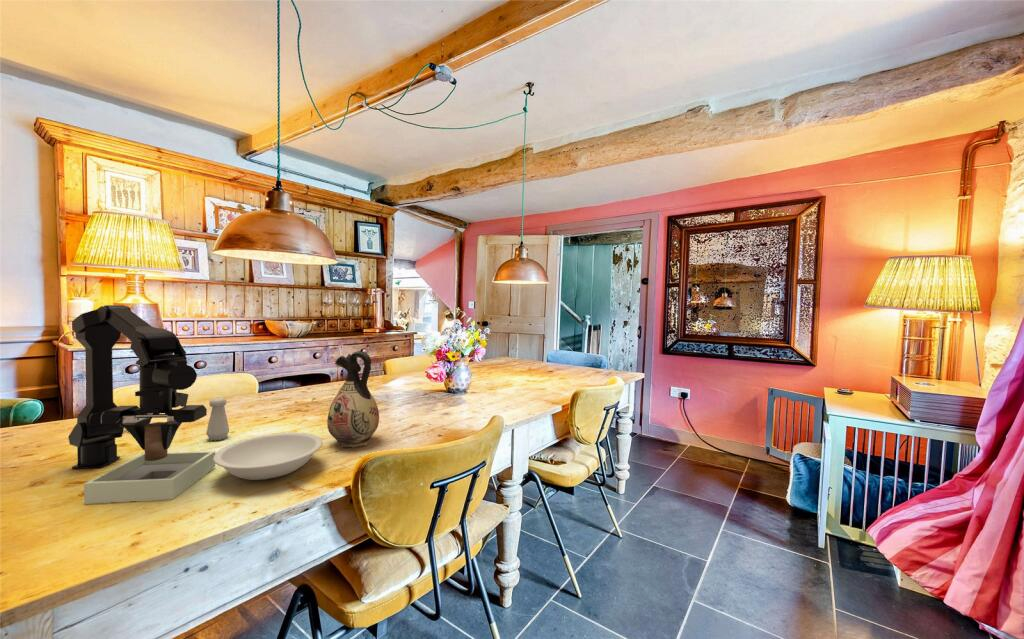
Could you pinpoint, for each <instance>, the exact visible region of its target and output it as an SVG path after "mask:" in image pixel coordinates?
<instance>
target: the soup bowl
mask: <svg viewBox="0 0 1024 639" xmlns="http://www.w3.org/2000/svg"><path fill="white" fill-rule="evenodd" d="M322 445H323V439H321V437H319V436H317V435H314V434H312V433H305V432H278V433H270V434H269V433H268V434H263V435H258V436H253V437H249V438H245V439H242V440H239V441H236V442H233V443H230V444H228V445H226V446H224V447H222V448H221V449H219V450H218V451H217V452H215V455H214V457H213V461H214V463H215V465H217V466H218V467H221V468H224V470H225V471H227V473H229V474H230V475H233V476H235V477H237V478H240V479H242V480H243V479H244V480H250V481H261V480H262V481H263V480H270V479H274V478H279V477H283V476H286V475H289V474H291V473H293V472H294V471H296V470H298V469H300V468H301V467H303V466H304V465H305V464H307V462H308V461H310V459H311V458H312V457H313V456H314V454H315V453H316V452H318V451H319V450H320V449H321V448H322Z"/></svg>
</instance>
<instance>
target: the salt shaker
mask: <svg viewBox="0 0 1024 639" xmlns="http://www.w3.org/2000/svg"><path fill="white" fill-rule="evenodd" d="M225 406H227V398H225V397H215V398H212V399H210V400H209V407H211V411H210V414H209V419H208V425H207V428H206V432H205V433H206V436H207V438H208V439H209V441H210V440H215V441H214V442H217V441H216V440H219V441H222V440H221V439H223V440H225V439H227V436H228V435H229V433H230V427H229V422H228V417H227V412H226V407H225ZM224 438H225V439H224Z"/></svg>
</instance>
